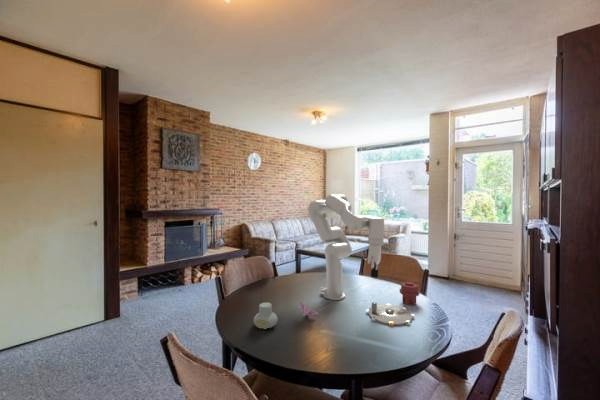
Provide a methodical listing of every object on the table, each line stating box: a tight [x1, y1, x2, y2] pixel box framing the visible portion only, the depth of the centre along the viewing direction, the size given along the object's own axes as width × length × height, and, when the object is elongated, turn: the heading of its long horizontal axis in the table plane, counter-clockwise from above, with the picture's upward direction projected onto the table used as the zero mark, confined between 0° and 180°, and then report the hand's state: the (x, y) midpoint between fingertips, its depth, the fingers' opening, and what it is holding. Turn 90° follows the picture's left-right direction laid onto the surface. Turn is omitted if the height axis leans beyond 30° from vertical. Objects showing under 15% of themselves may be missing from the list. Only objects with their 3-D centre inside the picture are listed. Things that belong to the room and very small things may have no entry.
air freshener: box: [253, 302, 278, 330], centre depth 127 cm, size 11×8×10 cm
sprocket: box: [365, 301, 415, 327], centre depth 135 cm, size 22×22×6 cm
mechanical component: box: [399, 281, 420, 306], centre depth 151 cm, size 12×10×10 cm
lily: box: [297, 299, 319, 323], centre depth 133 cm, size 12×12×10 cm
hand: (374, 276), depth 141 cm, fingers closed
